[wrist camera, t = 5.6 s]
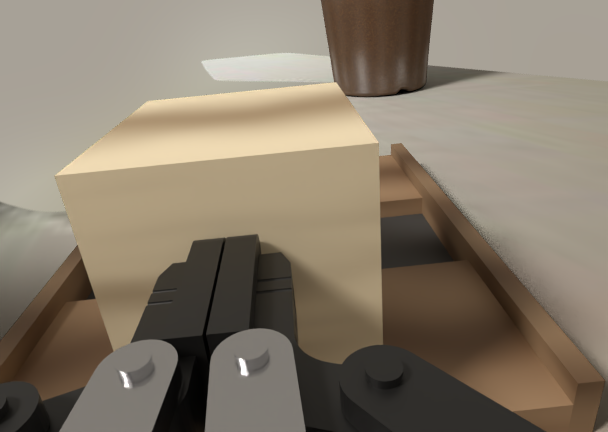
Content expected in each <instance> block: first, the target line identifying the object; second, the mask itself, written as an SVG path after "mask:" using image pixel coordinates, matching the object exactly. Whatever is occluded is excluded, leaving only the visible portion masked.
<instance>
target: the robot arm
mask: <svg viewBox="0 0 608 432" xmlns="http://www.w3.org/2000/svg"><path fill="white" fill-rule="evenodd" d="M147 303H148V306H146V307H145V310H144V312H143V314H142V317H141V319H140V321H139V324H138V326H137V328H136V331H135V333H134V336H133V338H132V340H131V343H130V344H128V345H125V346H123V347H121V348H119V349H117V350H115V351H114V352H112V353H111V354H109V355H108V356H107V357H106V358H105V359H104V360H103V361H102V362H101V363H100V364H99V365H98V367H97V368H96V369H95V371H94V373H93V375H92V376H91V378H90V380H89V381H88V383H87V385H86V386H84V387H82V388H79V389H76V390H73V391H70V392H67V393H64V394H61V395H58V396H55V397H52V398H49V399H47V400H44V401H42V399H41V397H40V395H39V392H38V390H37V388H36V387H35V386H34V385H32V384H30V383H27V382H22V381H13V382H6V383H1V384H0V432H546V431H544V430H543V429H541V428H539V427H538V426H536V425H534V424H533V423H531V422H529V421H527V420H526V419H524V418H522V417H521V416H519V415H517V414H516V413H514V412H512V411H510V410H509V409H507V408H505V407H504V406H502V405H500V404H499V403H497V402H495V401H493V400H492V399H490V398H488V397H487V396H485V395H483V394H481V393H480V392H478V391H476V390H475V389H473V388H471V387H470V386H468V385H466V384H464V383H463V382H461V381H459V380H458V379H456V378H454V377H453V376H451V375H449V374H447V373H446V372H444V371H442V370H441V369H439V368H437V367H436V366H434V365H432V364H430V363H429V362H427V361H425V360H424V359H422V358H420V357H419V356H417V355H415V354H413V353H412V352H410V351H408V350H406V349H403V348H400V347H396V346H391V345H373V346H368V347H364V348H361V349H359V350H357V351H355V352H353V353H352V354H350V355H349V356H348V357H347V358H346V359H345V360H344V362H343V363H342V364H336V363H330V362H325V361H321V360H318V359H315V358H313V357H311V356H309V355H308V354H306V353H305V352H304V351H303V350H302V349H301V348H300V347H299V346H298V328H297V314H296V305H295V296H294V288H293V279H292V270H291V263H290V262H289V260H288V259H287V258H286V257H285V256H284V255H283V254H282V253H281V252H278V253H268V254H261V247H260V241H259V236H258V234H253V235H243V236H233V237H227V238H225V237H224V238H214V239H204V240H195V241H193V243H192V246H191V249H190V252H189V255H188V257H187V260H186V262H180V263H172V264H171V265H170V266H169V267H168V268H167V269H166V270H165V271H164V272H163V273H162V274H161V275H160V276H158V279H157V281H156V284H155V286H154V288H153V293H152V294H151V295H150V298H149V300H148V302H147Z"/></svg>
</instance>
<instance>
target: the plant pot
mask: <svg viewBox="0 0 608 432" xmlns="http://www.w3.org/2000/svg"><path fill="white" fill-rule="evenodd" d="M321 3H322V9H323V15H324V21H325V28H326V34H327V40H328V45H329V52H330V59H331V65H332V71H333V78H334V82H336V83H337V84H338V86H339V87H340V88H341V90H342V91H343V93H344V94H345V95H350V96H358V97H374V96H379V95H390V94H396V93H397V92H398V91H399V90H401V89H402V90H406V91H412V90H416V89H418V88H421V87H422V86H424V85H425V83H426V78H427V65H428V54H429V43H430V32H431V22H432V13H433V3H434V0H321Z"/></svg>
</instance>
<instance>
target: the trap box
mask: <svg viewBox="0 0 608 432" xmlns="http://www.w3.org/2000/svg"><path fill="white" fill-rule="evenodd" d="M379 180H380V227H381V274H382V322H383V345H391V346H396V347H400V348H403V349H406V350H408V351H410V352H412V353H413V354H415V355H417V356H419V357H420V358H422V359H424V360H425V361H427V362H429V363H430V364H432V365H434V366H436V367H437V368H439V369H441V370H442V371H444V372H446V373H447V374H449V375H451V376H453V377H454V378H456V379H458V380H459V381H461V382H463V383H464V384H466V385H468V386H470V387H471V388H473V389H475V390H476V391H478V392H480V393H481V394H483V395H485V396H487V397H488V398H490V399H492V400H493V401H495V402H497V403H499V404H500V405H502V406H504V407H505V408H507V409H509V410H510V411H512V412H514V413H516V414H517V415H519V416H521V417H522V418H524V419H526V420H527V421H529V422H531V423H533V424H534V425H536V426H538V427H539V428H541V429H543V430H544V431H546V432H593V428H594V424H595V420H596V416H597V412H598V408H599V404H600V400H601V396H602V392H603V388H604V383H605V380H604V379H603V377H602V376H601V375H600V374H599V373H598V372H597V370H596V369H595V368H594V367H593V366H592V365H591V363H590V362H589V361H588V360H587V359H586V358H585V357H584V355H583V354H582V353H581V352H580V351H579V350H578V348H577V347H576V346H575V345H574V344H573V343H572V341H571V340H570V339H569V338H568V337H567V336H566V334H565V333H564V332H563V331H562V330H561V329H560V327H559V326H558V325H557V324H556V323H555V322H554V320H553V319H552V318H551V317H550V316H549V315H548V313H547V312H546V311H545V310H544V309H543V308H542V306H541V305H540V304H539V303H538V302H537V301H536V299H535V298H534V297H533V296H532V295H531V294H530V292H529V291H528V290H527V289H526V288H525V287H524V285H523V284H522V283H521V282H520V281H519V280H518V278H517V277H516V276H515V275H514V274H513V273H512V271H511V270H510V269H509V268H508V267H507V266H506V264H505V263H504V262H503V261H502V260H501V259H500V257H499V256H498V255H497V254H496V253H495V252H494V251H493V249H492V248H491V247H490V246H489V245H488V244H487V242H486V241H485V240H484V239H483V238H482V237H481V235H480V234H479V233H478V232H477V231H476V230H475V228H474V227H473V226H472V225H471V224H470V223H469V221H468V220H467V219H466V218H465V217H464V216H463V214H462V213H461V212H460V211H459V210H458V209H457V207H456V206H455V205H454V204H453V203H452V202H451V200H450V199H449V198H448V197H447V196H446V195H445V193H444V192H443V191H442V190H441V189H440V188H439V186H438V185H437V184H436V183H435V182H434V181H433V179H432V178H431V177H430V176H429V175H428V174H427V172H426V171H425V170H424V169H423V168H422V167H421V165H420V164H419V163H418V162H417V161H416V160H415V158H414V157H413V156H412V155H411V154H410V153H409V151H408V150H407V149H406V148H405V147H404V146H403V144H402V143H400V144H391V155H387V156H379ZM112 352H114V351H113V348H112V345H111V342H110V339H109V336H108V333H107V330H106V327H105V324H104V321H103V319H102V316H101V313H100V310H99V307H98V304H97V301H96V298H95V295H94V292H93V289H92V286H91V283H90V280H89V277H88V274H87V271H86V268H85V265H84V262H83V259H82V256H81V253H80V250H79V247H78V245H77V246H76V248H75V249H74V250H73V251H72V253H71V254H70V255H69V256H68V257H67V259H66V260H65V261H64V262H63V264H62V265H61V266H60V267H59V269H58V270H57V271H56V272H55V274H54V275H53V276H52V277H51V279H50V280H49V281H48V282H47V284H46V285H45V286H44V287H43V289H42V290H41V291H40V292H39V294H38V295H37V296H36V297H35V298H34V300H33V301H32V302H31V303H30V305H29V306H28V307H27V308H26V310H25V311H24V312H23V313H22V315H21V316H20V317H19V318H18V320H17V321H16V322H15V323H14V325H13V326H12V327H11V328H10V330H9V331H8V332H7V333H6V335H5V336H4V337H3V338H2V340H1V341H0V384H1V383H6V382H13V381H22V382H27V383H30V384H32V385H34V386H35V387H36V388H37V390H38V392H39V395H40V397H41V399H42V401H44V400H47V399H49V398H52V397H55V396H58V395H61V394H64V393H67V392H70V391H73V390H76V389H79V388H82V387H84V386H86V385H87V383H88V381H89V380H90V378H91V376H92V375H93V373H94V371H95V369H96V368H97V367H98V365H99V364H100V363H101V362H102V361H103V360H104V359H105V358H106V357H107V356H108V355H109V354H111V353H112Z"/></svg>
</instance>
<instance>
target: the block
mask: <svg viewBox="0 0 608 432" xmlns="http://www.w3.org/2000/svg"><path fill="white" fill-rule="evenodd" d="M55 179H56V182H57V185H58V188H59V191H60V194H61V197H62V200H63V203H64V206H65V209H66V212H67V215H68V218H69V221H70V224H71V227H72V230H73V233H74V236H75V239H76V241H77V244H78V247H79V250H80V253H81V256H82V259H83V262H84V265H85V268H86V271H87V274H88V277H89V280H90V283H91V286H92V289H93V292H94V295H95V298H96V301H97V304H98V307H99V310H100V313H101V316H102V319H103V321H104V324H105V327H106V330H107V333H108V336H109V339H110V342H111V345H112V348H113V351H115V350H117V349H119V348H121V347H123V346H125V345H128V344H130V343H131V340H132V338H133V336H134V333H135V331H136V328H137V326H138V324H139V321H140V319H141V317H142V314H143V312H144V310H145V307H146V306H148V303H147V302H148V300H149V298H150V295H151V294H152V293H153V288H154V286H155V284H156V281H157V279H158V276H160V275H161V274H162V273H163V272H164V271H165V270H166V269H167V268H168V267H169V266H170V265H171V264H172V263H180V262H186V260H187V257H188V255H189V252H190V249H191V246H192V243H193V241H195V240H204V239H214V238H224V237H225V238H227V237H233V236H243V235H253V234H258V236H259V241H260V247H261V254H268V253H278V252H281V253H282V254H283V255H284V256H285V257H286V258H287V259H288V260H289V262H290V263H291V270H292V279H293V288H294V296H295V305H296V314H297V328H298V346H299V347H300V348H301V349H302V350H303V351H304V352H305V353H306V354H308V355H309V356H311V357H313V358H315V359H318V360H321V361H325V362H330V363H336V364H342V363H343V362H344V360H345V359H346V358H347V357H348V356H349V355H350V354H352V353H353V352H355V351H357V350H359V349H361V348H364V347H368V346H373V345H383V322H382V274H381V227H380V180H379V142H378V141H377V140H376V138H375V137H374V135H373V134H372V133H371V131H370V130H369V128H368V127H367V125H366V124H365V123H364V121H363V120H362V118H361V117H360V115H359V114H358V113H357V111H356V110H355V108H354V107H353V105H352V104H351V103H350V101H349V100H348V98H347V97H346V96H345V94H344V93H343V91H342V90H341V88H340V87H339V86H338V84H337V83H336V82H333V83H323V84H314V85H303V86H294V87H284V88H274V89H264V90H254V91H244V92H234V93H224V94H214V95H204V96H194V97H184V98H175V99H164V100H154V101H147V102H146V103H145V104H144V105H142V106H141V107H140V108H139V109H137V110H136V111H135V112H134V113H132V114H131V115H130V116H129V117H127V118H126V119H125V120H124V121H122V122H121V123H120V124H119V125H117V126H116V127H115V128H113V129H112V130H111V131H110V132H109V133H107V134H106V135H105V136H103V137H102V138H101V139H100V140H99V141H97V142H96V143H95V144H93V145H92V146H91V147H90V148H88V149H87V150H86V151H85V152H83V153H82V154H81V155H80V156H78V157H77V158H76V159H75V160H73V161H72V162H71V163H70V164H68V165H67V166H66V167H65V168H63V169H62V170H61V171H60V172H58V173H57V174H56V175H55Z"/></svg>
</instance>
